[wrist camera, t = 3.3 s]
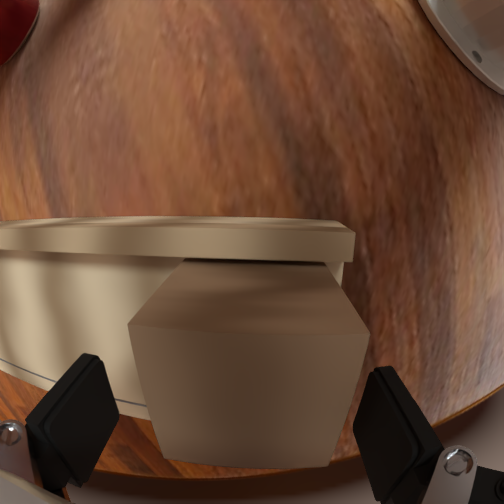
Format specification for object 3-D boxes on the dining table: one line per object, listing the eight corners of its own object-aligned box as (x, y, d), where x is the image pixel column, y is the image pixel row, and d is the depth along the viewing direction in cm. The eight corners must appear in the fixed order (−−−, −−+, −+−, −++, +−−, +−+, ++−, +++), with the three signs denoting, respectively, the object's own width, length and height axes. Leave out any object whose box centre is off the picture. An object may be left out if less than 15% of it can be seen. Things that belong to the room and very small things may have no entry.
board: (336, 220, 14) (355, 233, 11) (309, 411, 17) (314, 445, 14) (-37, 224, 15) (-61, 232, 12) (-5, 351, 18) (-23, 366, 15)
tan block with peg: (324, 262, 12) (370, 333, 6) (298, 431, 15) (306, 511, 9) (185, 257, 12) (127, 324, 7) (201, 427, 15) (183, 505, 9)
